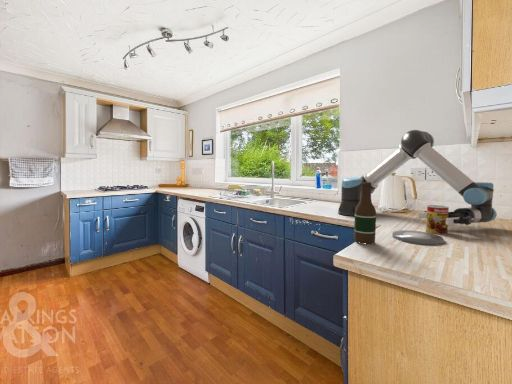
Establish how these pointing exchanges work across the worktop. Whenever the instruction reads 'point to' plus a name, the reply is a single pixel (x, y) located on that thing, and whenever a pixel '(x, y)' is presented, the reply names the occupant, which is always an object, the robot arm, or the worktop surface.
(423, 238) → the plate
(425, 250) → the worktop surface
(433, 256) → the worktop surface
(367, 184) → the beer bottle
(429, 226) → the canned food
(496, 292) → the worktop surface
